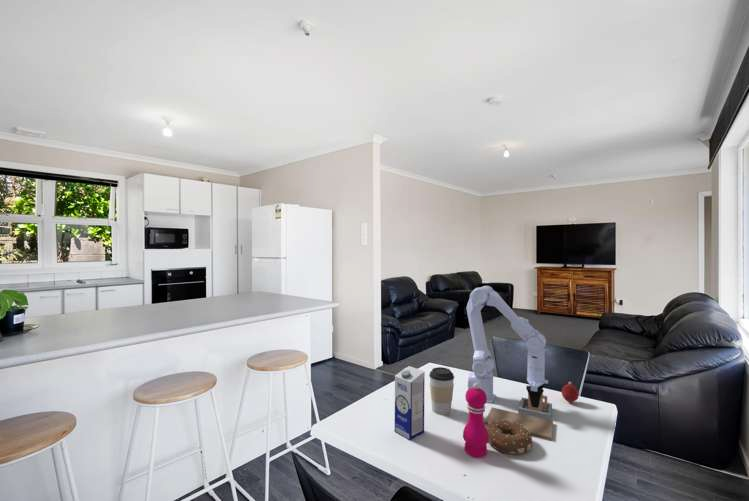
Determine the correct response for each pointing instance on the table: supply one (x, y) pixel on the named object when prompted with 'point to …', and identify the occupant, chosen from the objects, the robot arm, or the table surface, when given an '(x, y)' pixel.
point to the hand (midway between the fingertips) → (535, 404)
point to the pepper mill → (475, 423)
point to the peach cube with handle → (541, 405)
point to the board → (524, 422)
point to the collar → (533, 412)
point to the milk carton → (409, 402)
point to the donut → (509, 437)
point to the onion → (570, 393)
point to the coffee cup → (441, 390)
